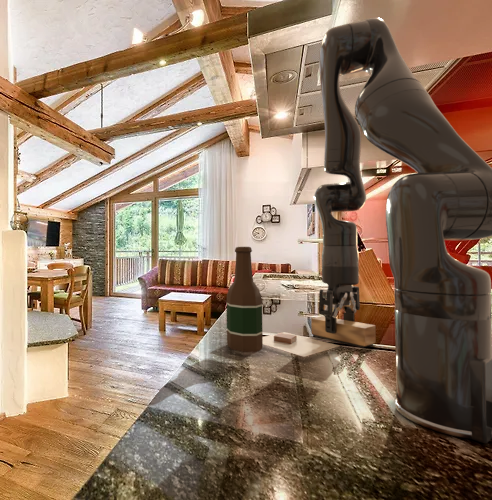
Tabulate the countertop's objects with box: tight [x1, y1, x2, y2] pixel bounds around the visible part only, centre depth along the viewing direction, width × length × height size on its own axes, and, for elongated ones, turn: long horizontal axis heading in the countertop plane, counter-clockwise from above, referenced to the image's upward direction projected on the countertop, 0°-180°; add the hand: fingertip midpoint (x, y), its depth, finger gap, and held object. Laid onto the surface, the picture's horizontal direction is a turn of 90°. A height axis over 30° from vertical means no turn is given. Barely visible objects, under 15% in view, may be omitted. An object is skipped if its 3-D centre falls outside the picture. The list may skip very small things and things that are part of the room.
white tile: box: [263, 331, 340, 358], centre depth 71 cm, size 14×14×1 cm
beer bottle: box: [226, 246, 264, 353], centre depth 69 cm, size 8×8×24 cm
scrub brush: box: [310, 315, 377, 349], centre depth 73 cm, size 12×5×6 cm, turn 30°
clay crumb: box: [274, 332, 297, 344], centre depth 73 cm, size 4×4×1 cm
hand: (340, 330), depth 73 cm, fingers open, 8 cm apart
